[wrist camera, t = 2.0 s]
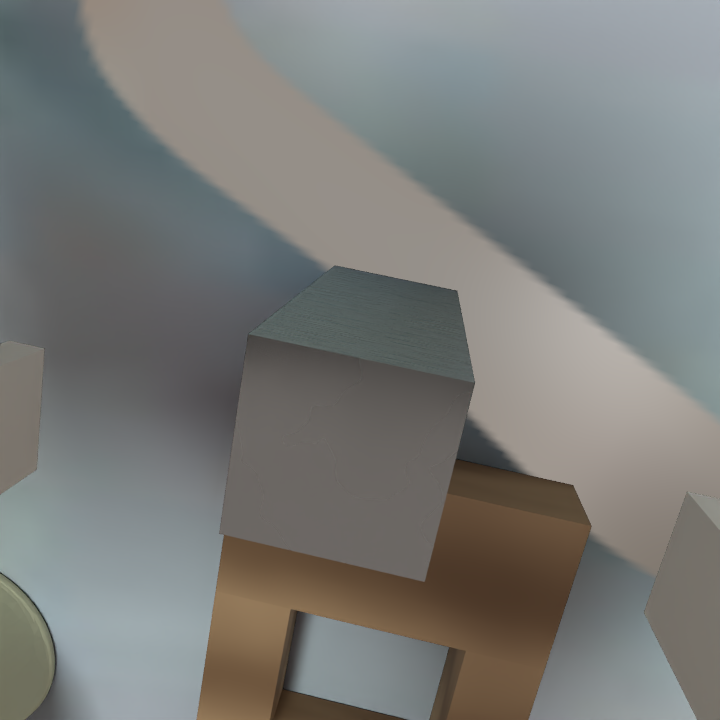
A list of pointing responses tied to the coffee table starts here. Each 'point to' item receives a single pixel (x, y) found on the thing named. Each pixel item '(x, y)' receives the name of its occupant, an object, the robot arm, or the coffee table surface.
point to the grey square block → (351, 422)
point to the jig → (410, 604)
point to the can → (22, 654)
